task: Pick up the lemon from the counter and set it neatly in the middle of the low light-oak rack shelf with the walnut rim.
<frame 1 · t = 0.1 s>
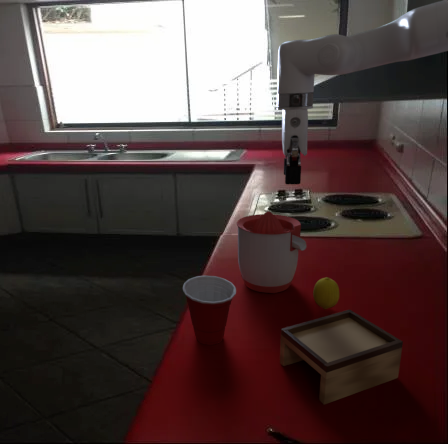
hand: (291, 179, 96), 29 cm above the counter, tool pointing down, fingers open, 9 cm apart
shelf: (336, 370, 76), on the counter
plastic cup: (210, 338, 88), on the counter
lemon: (325, 309, 96), on the counter
citrus juicer: (269, 285, 109), on the counter
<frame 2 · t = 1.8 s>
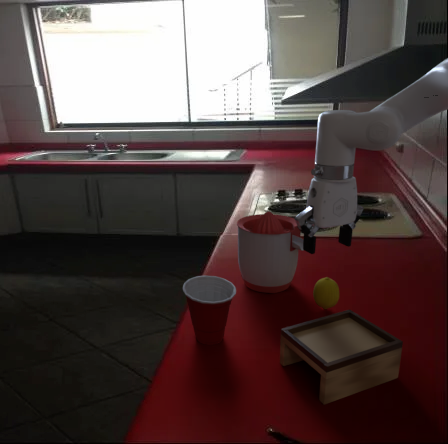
hand: (326, 248, 92), 15 cm above the counter, tool pointing down, fingers open, 9 cm apart
nothing on the counter moved.
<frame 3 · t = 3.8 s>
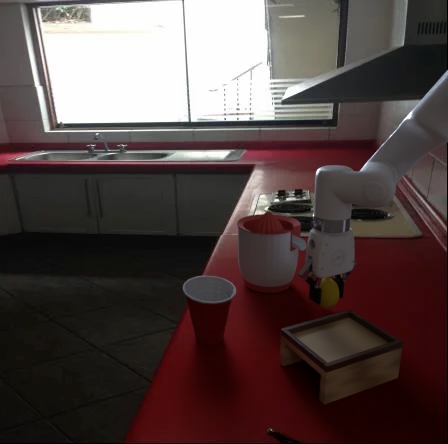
hand: (325, 297, 95), 3 cm above the counter, tool pointing down, fingers closed on lemon, 5 cm apart
lemon: (325, 309, 96), on the counter, touching gripper
everything else where it was.
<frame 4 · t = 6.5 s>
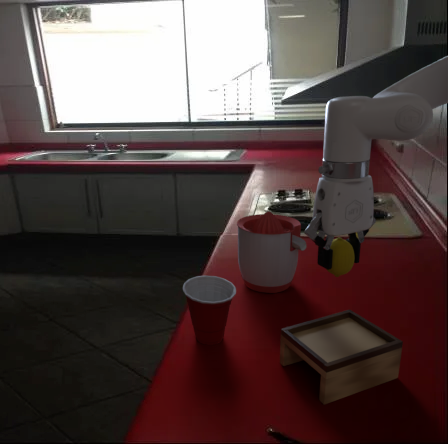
hand: (338, 262, 79), 17 cm above the counter, tool pointing down, fingers closed on lemon, 5 cm apart
lemon: (336, 277, 80), point 14 cm above the counter, touching gripper
everything else where it was.
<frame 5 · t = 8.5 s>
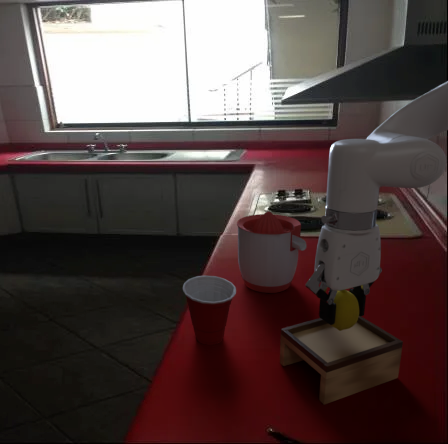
hand: (341, 315, 72), 11 cm above the counter, tool pointing down, fingers closed on lemon, 5 cm apart
lemon: (339, 331, 73), point 8 cm above the counter, touching gripper
everything else where it was.
when the fingers open (9 cm above the counter, at t = 9.6 s): lemon stays where it is, resting on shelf.
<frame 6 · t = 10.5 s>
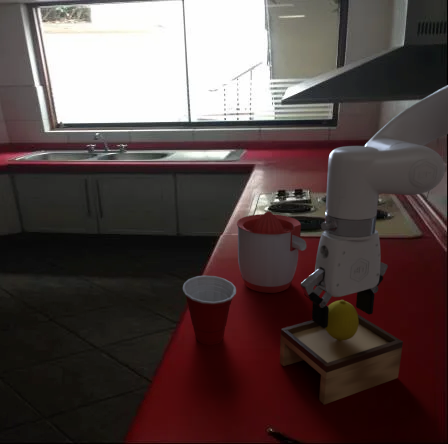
hand: (342, 317, 73), 11 cm above the counter, tool pointing down, fingers open, 9 cm apart
lemon: (339, 341, 74), point 6 cm above the counter, touching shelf
everything else where it was.
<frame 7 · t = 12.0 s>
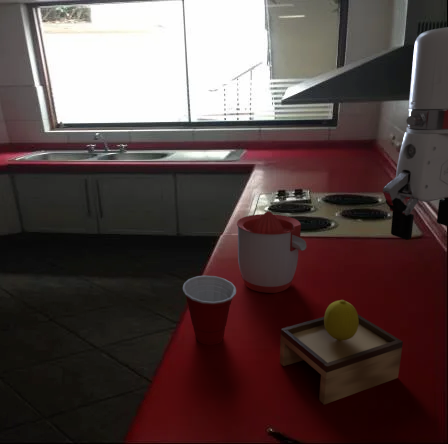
hand: (424, 231, 66), 27 cm above the counter, tool pointing down, fingers open, 9 cm apart
nothing on the counter moved.
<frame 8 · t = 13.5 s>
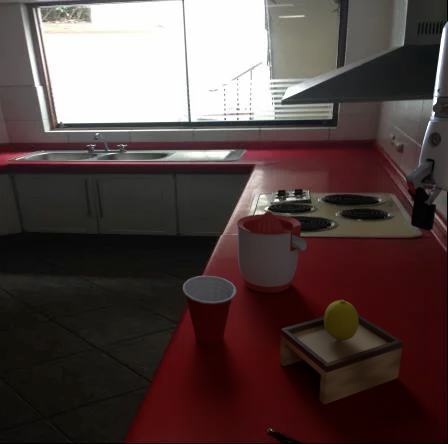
hand: (444, 222, 65), 28 cm above the counter, tool pointing down, fingers open, 9 cm apart
nothing on the counter moved.
at the end: lemon inside the target area on the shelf (0.1 cm from its centre), point 6.0 cm above the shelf's base; the gripper is holding nothing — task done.
